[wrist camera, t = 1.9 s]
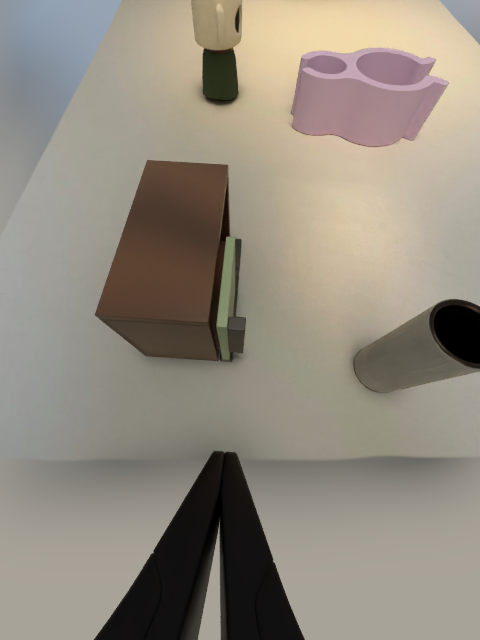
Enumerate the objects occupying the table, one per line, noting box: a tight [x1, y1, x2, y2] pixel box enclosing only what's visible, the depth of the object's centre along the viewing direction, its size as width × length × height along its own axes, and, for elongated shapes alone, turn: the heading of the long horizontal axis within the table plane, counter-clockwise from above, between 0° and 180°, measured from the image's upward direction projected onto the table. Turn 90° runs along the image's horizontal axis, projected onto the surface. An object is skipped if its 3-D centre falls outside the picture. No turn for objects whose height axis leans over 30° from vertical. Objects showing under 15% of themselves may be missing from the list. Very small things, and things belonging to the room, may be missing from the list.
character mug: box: [191, 0, 242, 100], centre depth 38 cm, size 11×7×13 cm, turn 8°
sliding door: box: [216, 237, 246, 360], centre depth 21 cm, size 8×2×8 cm, turn 176°
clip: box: [291, 48, 449, 146], centre depth 38 cm, size 20×12×7 cm, turn 87°
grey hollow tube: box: [354, 299, 480, 393], centre depth 19 cm, size 4×4×10 cm
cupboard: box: [95, 160, 242, 362], centre depth 23 cm, size 15×9×10 cm, turn 176°
